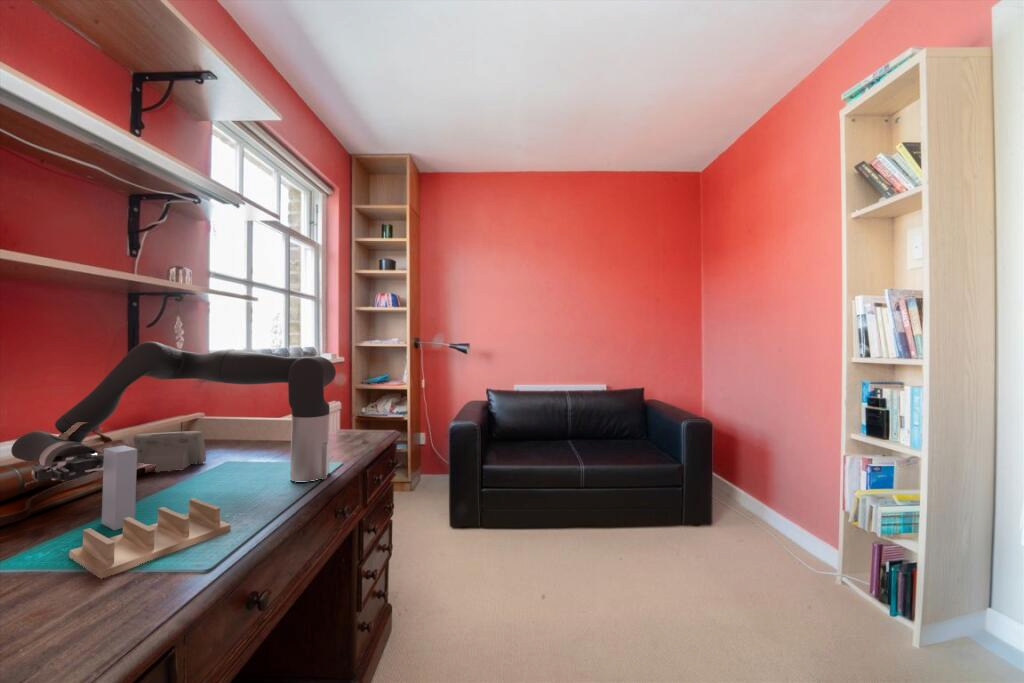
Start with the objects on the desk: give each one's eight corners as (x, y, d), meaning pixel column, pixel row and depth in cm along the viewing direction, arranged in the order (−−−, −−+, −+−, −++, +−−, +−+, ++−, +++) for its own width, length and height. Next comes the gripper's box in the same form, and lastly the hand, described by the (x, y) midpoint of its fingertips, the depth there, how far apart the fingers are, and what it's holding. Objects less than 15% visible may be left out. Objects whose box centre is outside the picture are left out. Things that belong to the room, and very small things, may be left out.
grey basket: (209, 462, 118) (210, 427, 118) (190, 472, 109) (191, 434, 109) (149, 464, 115) (150, 429, 115) (124, 474, 106) (125, 435, 106)
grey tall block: (121, 517, 80) (124, 445, 80) (134, 524, 77) (137, 449, 77) (101, 523, 77) (104, 448, 78) (114, 530, 75) (116, 452, 75)
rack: (195, 516, 81) (196, 495, 81) (230, 530, 75) (231, 507, 75) (69, 557, 65) (70, 530, 65) (100, 579, 59) (101, 550, 59)
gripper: (21, 449, 83) (46, 461, 76) (111, 436, 96) (141, 445, 89) (19, 484, 83) (44, 499, 76) (110, 467, 96) (139, 478, 89)
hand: (96, 470), depth 82 cm, fingers open, 8 cm apart
